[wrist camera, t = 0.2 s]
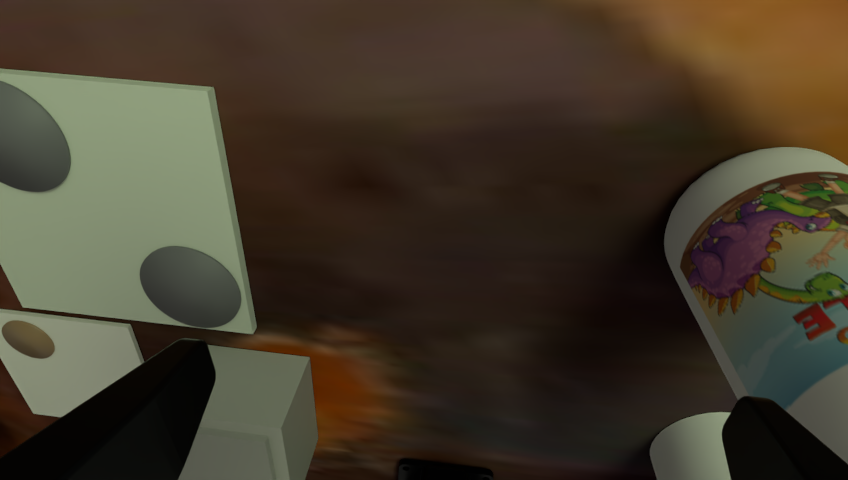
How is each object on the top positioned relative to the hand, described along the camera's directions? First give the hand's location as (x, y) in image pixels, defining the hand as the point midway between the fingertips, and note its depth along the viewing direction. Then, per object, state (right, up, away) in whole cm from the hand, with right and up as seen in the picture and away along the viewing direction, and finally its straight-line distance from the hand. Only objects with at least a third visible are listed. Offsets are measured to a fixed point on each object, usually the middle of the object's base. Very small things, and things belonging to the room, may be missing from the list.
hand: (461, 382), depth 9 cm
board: (-17, +4, +17) cm, 24 cm away
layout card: (-24, -6, +25) cm, 35 cm away
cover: (-12, -8, +24) cm, 28 cm away
